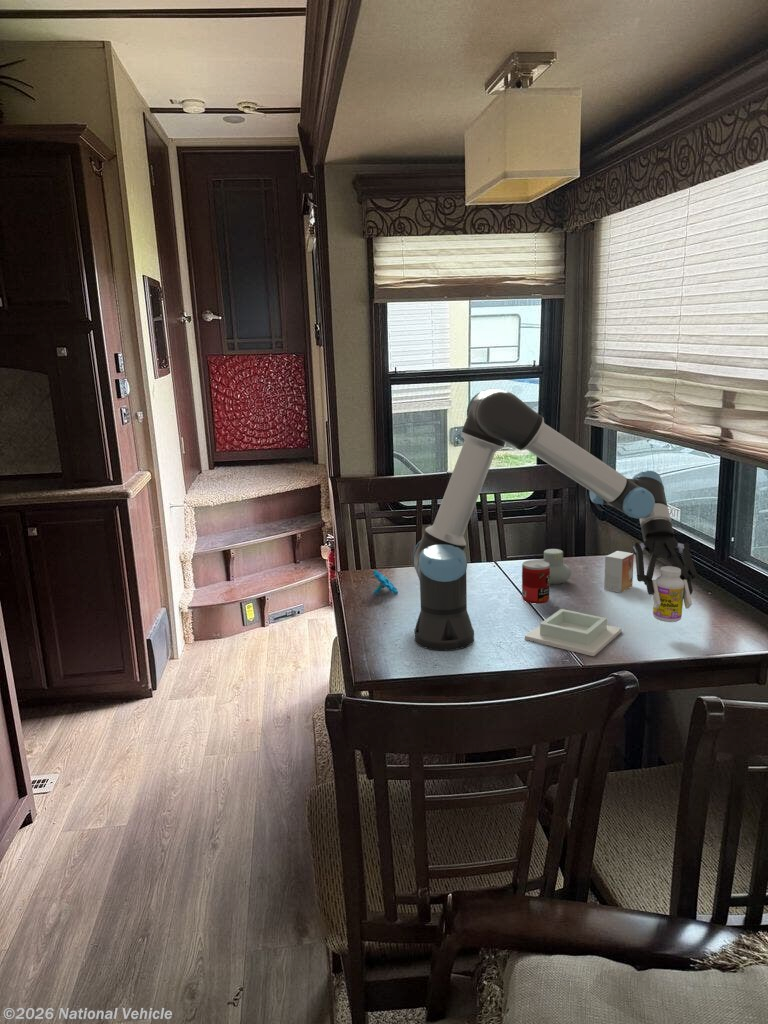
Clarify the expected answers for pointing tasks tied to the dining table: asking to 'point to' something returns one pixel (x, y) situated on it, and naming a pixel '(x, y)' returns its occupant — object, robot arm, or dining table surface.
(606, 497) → the robot arm
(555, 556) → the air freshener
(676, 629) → the dining table surface
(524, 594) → the canned food
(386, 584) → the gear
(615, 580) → the small box
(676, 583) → the supplement bottle
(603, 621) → the tray
